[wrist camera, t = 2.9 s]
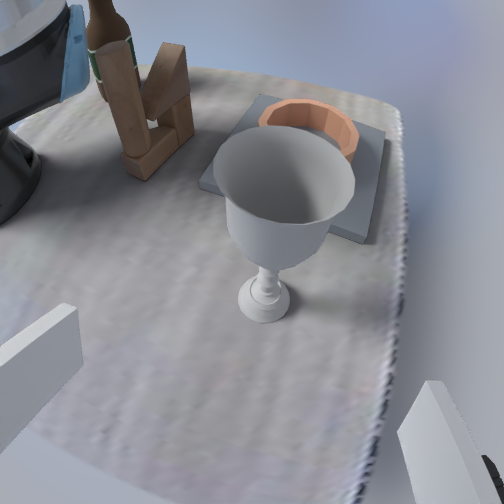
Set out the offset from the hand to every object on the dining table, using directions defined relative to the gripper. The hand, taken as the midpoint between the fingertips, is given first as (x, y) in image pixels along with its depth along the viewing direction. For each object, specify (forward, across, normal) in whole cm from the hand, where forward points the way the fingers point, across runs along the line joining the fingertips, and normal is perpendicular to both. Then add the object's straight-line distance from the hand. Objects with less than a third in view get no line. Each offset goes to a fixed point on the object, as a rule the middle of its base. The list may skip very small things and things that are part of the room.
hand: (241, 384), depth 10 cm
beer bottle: (+43, -32, +17) cm, 56 cm away
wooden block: (+33, -17, +6) cm, 38 cm away
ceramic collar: (+34, +1, +10) cm, 35 cm away
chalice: (+20, 0, -6) cm, 21 cm away
